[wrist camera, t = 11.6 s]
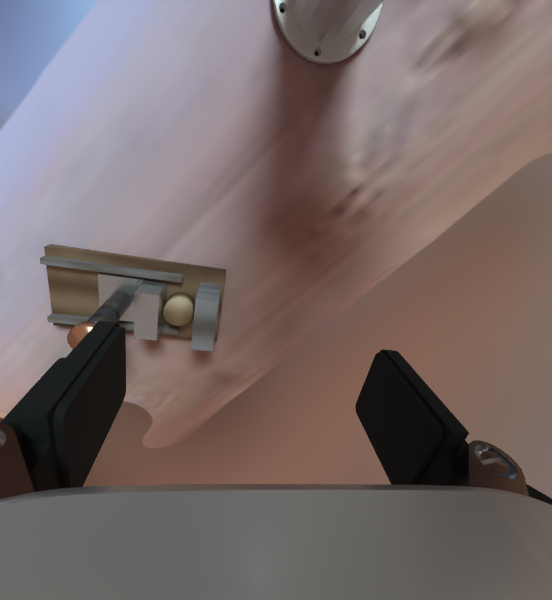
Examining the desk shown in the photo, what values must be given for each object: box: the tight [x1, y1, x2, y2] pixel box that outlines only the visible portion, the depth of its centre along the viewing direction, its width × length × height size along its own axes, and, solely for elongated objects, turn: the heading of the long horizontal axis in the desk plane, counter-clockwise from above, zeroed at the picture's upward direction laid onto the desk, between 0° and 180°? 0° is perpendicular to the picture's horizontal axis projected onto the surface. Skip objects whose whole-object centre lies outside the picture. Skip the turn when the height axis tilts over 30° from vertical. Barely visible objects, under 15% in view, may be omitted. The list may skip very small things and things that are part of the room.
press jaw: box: [67, 273, 166, 349], centre depth 38 cm, size 7×9×12 cm
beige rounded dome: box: [163, 292, 195, 326], centre depth 43 cm, size 4×4×3 cm
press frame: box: [40, 244, 226, 352], centre depth 41 cm, size 12×24×8 cm, turn 79°
